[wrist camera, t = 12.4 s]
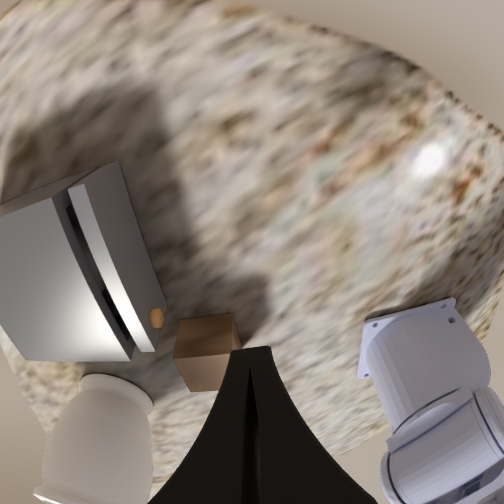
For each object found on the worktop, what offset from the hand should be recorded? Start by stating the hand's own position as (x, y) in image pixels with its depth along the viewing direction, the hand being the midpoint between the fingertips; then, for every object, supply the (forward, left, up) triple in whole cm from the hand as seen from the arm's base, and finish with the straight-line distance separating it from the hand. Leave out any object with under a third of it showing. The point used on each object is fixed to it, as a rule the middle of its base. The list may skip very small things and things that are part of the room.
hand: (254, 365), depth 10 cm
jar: (+17, +16, -10) cm, 25 cm away
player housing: (+13, -1, -10) cm, 16 cm away
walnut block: (+4, +8, -10) cm, 13 cm away
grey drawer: (+11, -1, -10) cm, 15 cm away
